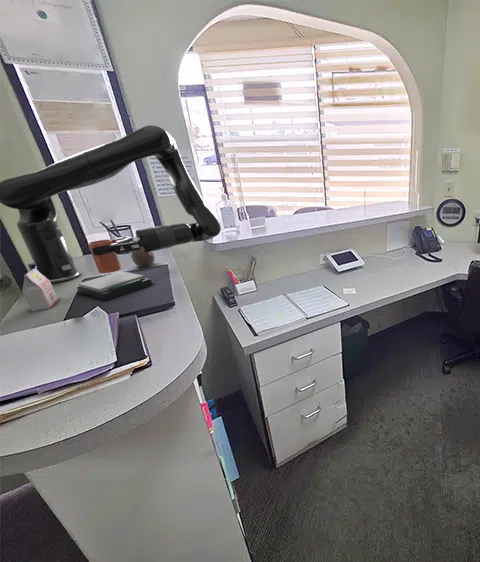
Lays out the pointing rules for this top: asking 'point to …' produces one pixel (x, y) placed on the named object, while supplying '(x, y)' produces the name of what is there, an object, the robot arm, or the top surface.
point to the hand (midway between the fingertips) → (91, 250)
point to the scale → (113, 285)
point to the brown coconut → (142, 258)
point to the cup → (105, 258)
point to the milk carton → (38, 291)
